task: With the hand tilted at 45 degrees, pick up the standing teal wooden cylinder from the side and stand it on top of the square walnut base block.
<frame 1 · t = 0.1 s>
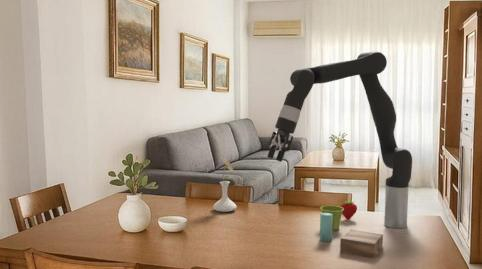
hand: (274, 159, 176), 31 cm above the table, tool tilted 20°, fingers open, 8 cm apart
strawberry: (348, 220, 206), on the table
plant pot: (331, 229, 193), on the table
teal post: (325, 239, 179), on the table
walnut base: (361, 249, 168), on the table
flower in vase: (224, 210, 222), on the table
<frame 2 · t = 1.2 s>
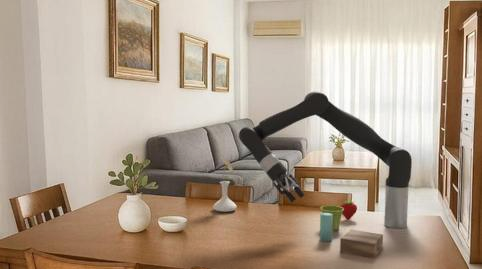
hand: (298, 198, 183), 15 cm above the table, tool tilted 45°, fingers open, 8 cm apart
nothing on the table moved.
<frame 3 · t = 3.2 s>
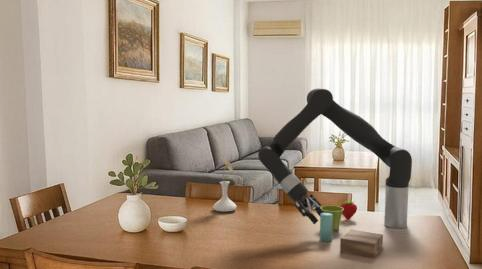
hand: (320, 219, 180), 7 cm above the table, tool tilted 45°, fingers open, 8 cm apart
nothing on the table moved.
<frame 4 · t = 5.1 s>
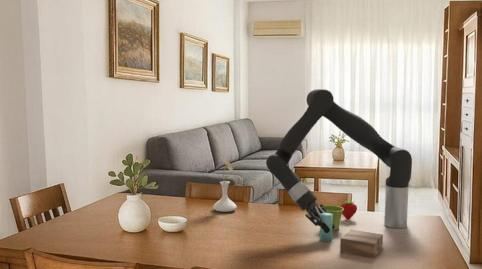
hand: (330, 230, 178), 4 cm above the table, tool tilted 45°, fingers closed on teal post, 4 cm apart
teal post: (325, 239, 179), on the table, touching gripper
everything else where it was.
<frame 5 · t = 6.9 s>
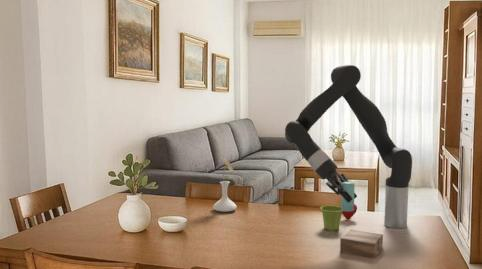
hand: (352, 199, 170), 18 cm above the table, tool tilted 45°, fingers closed on teal post, 4 cm apart
teal post: (347, 209, 171), point 14 cm above the table, touching gripper
everything else where it was.
when the fingers open (10 cm above the table, at t = 9.2 s): teal post stays where it is, resting on walnut base.
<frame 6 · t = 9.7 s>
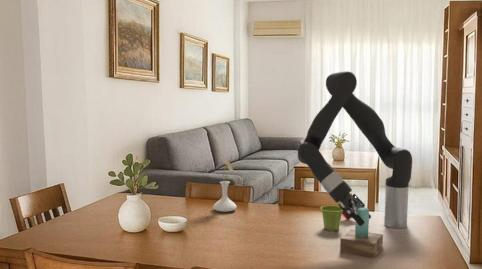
hand: (366, 221, 166), 11 cm above the table, tool tilted 45°, fingers open, 8 cm apart
teal post: (361, 236, 168), point 5 cm above the table, touching walnut base
everything else where it was.
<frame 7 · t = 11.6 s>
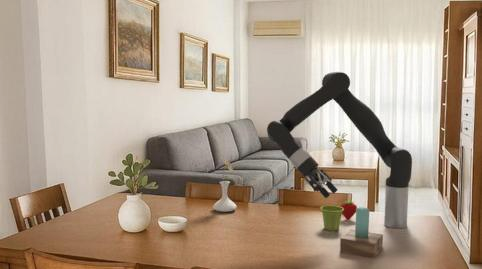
hand: (332, 194, 175), 18 cm above the table, tool tilted 45°, fingers open, 8 cm apart
nothing on the table moved.
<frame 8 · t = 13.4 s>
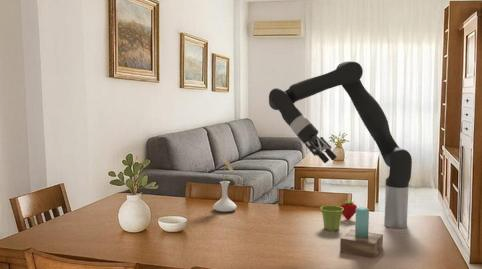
hand: (331, 160, 178), 31 cm above the table, tool tilted 45°, fingers open, 8 cm apart
nothing on the table moved.
at the end: teal post inside the target area on the walnut base (0.1 cm from its centre), point 5.0 cm above the walnut base's base; teal post tilted 1°; the gripper is holding nothing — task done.
